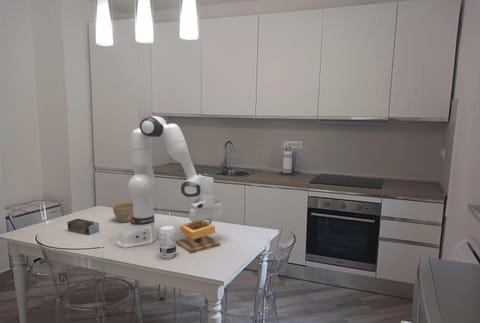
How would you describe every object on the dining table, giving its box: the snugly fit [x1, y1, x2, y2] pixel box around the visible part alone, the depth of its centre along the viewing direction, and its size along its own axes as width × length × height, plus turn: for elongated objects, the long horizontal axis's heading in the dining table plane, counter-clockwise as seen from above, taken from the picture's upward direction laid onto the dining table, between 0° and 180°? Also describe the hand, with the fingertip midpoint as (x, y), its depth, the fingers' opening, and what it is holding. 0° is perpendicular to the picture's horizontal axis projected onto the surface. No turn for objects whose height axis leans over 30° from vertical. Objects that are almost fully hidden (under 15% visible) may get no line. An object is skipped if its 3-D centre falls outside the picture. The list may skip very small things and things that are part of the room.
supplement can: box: [158, 224, 177, 260], centre depth 174 cm, size 8×8×15 cm
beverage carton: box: [67, 218, 100, 236], centre depth 211 cm, size 8×19×7 cm, turn 64°
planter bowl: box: [112, 201, 133, 223], centre depth 233 cm, size 16×16×11 cm
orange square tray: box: [179, 220, 216, 240], centre depth 189 cm, size 14×14×4 cm
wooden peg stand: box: [176, 227, 221, 254], centre depth 190 cm, size 18×18×10 cm
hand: (206, 226), depth 193 cm, fingers closed on orange square tray, 2 cm apart
